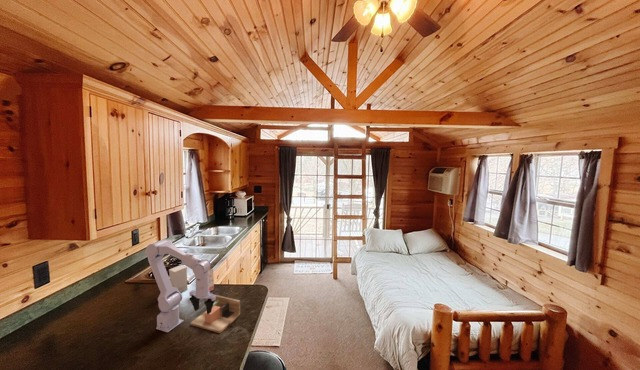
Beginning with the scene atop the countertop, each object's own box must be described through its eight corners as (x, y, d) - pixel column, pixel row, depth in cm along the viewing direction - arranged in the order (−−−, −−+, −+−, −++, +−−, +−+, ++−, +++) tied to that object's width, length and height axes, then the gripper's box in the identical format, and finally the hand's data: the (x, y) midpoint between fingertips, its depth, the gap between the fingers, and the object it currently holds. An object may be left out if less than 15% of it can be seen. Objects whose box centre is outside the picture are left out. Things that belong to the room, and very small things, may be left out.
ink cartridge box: (210, 287, 164) (209, 266, 163) (214, 289, 161) (213, 268, 160) (197, 292, 158) (196, 270, 156) (201, 295, 155) (200, 272, 153)
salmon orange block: (211, 323, 126) (210, 314, 125) (204, 322, 127) (204, 312, 127) (220, 315, 133) (220, 307, 132) (214, 314, 134) (214, 305, 133)
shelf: (220, 333, 121) (219, 317, 120) (190, 324, 127) (190, 309, 126) (240, 314, 136) (240, 300, 135) (213, 307, 142) (212, 294, 141)
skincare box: (182, 287, 164) (181, 264, 163) (188, 289, 161) (187, 266, 159) (169, 292, 157) (168, 269, 155) (175, 295, 153) (174, 271, 152)
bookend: (227, 318, 131) (227, 309, 130) (221, 316, 132) (221, 307, 131) (234, 312, 136) (234, 303, 135) (227, 310, 137) (227, 302, 136)
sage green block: (213, 314, 134) (212, 305, 133) (207, 312, 135) (207, 304, 134) (219, 308, 139) (219, 300, 138) (214, 307, 140) (214, 299, 139)
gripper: (220, 284, 123) (220, 309, 124) (196, 279, 128) (197, 304, 129) (209, 290, 117) (210, 317, 118) (185, 285, 121) (186, 311, 122)
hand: (202, 311), depth 123 cm, fingers open, 7 cm apart
